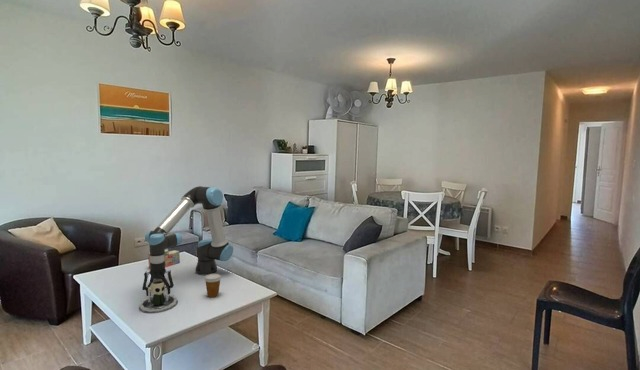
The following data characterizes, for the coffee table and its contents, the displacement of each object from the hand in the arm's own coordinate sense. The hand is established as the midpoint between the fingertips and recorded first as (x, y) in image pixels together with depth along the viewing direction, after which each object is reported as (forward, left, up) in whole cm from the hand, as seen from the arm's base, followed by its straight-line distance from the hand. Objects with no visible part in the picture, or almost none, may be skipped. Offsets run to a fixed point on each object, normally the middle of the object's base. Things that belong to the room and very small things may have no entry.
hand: (158, 300), depth 192 cm
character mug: (0, 0, -2) cm, 2 cm away
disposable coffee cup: (-29, -7, -3) cm, 30 cm away
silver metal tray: (0, 0, -3) cm, 3 cm away
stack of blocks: (+9, -67, -3) cm, 68 cm away
